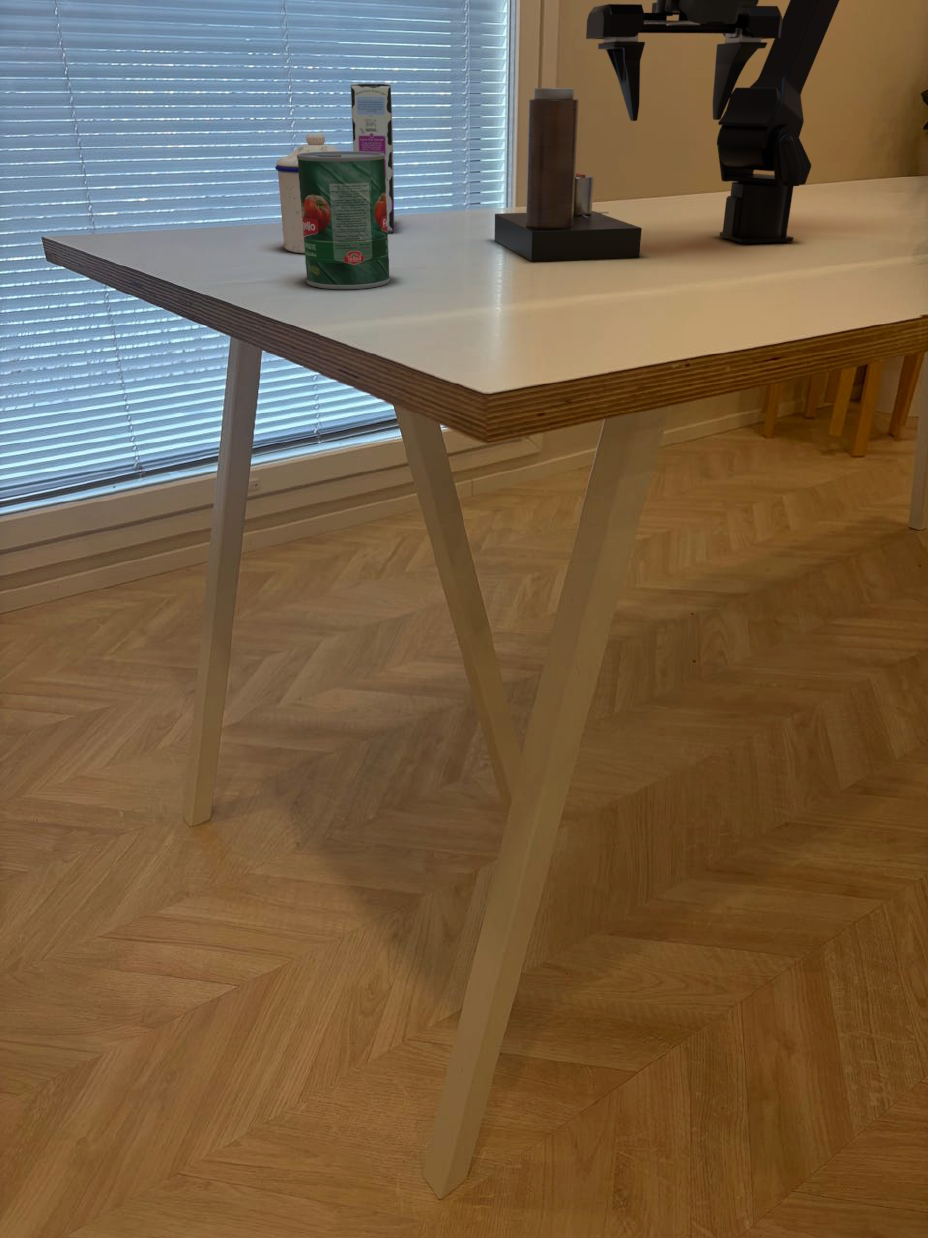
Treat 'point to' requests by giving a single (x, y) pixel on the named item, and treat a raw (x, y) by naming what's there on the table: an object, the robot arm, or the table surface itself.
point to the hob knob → (583, 194)
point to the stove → (569, 238)
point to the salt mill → (551, 158)
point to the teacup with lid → (295, 192)
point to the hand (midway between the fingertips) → (675, 120)
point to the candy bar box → (375, 131)
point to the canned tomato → (344, 219)
